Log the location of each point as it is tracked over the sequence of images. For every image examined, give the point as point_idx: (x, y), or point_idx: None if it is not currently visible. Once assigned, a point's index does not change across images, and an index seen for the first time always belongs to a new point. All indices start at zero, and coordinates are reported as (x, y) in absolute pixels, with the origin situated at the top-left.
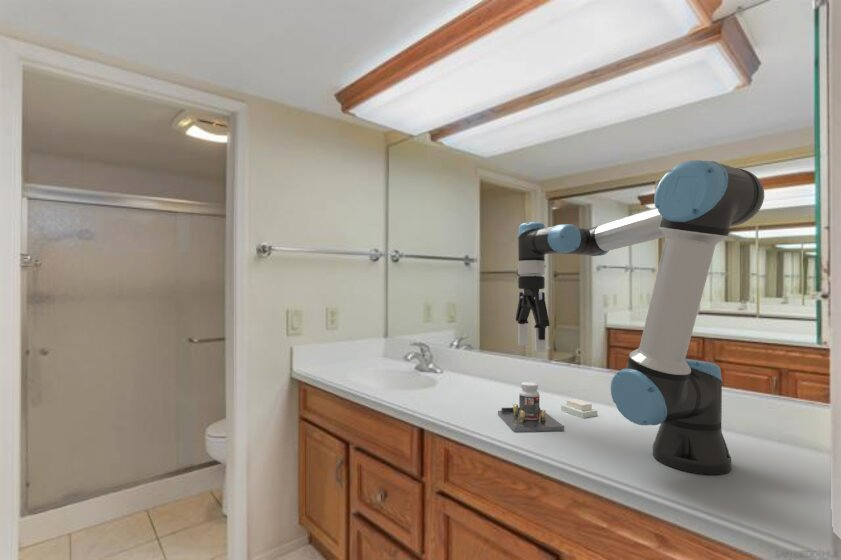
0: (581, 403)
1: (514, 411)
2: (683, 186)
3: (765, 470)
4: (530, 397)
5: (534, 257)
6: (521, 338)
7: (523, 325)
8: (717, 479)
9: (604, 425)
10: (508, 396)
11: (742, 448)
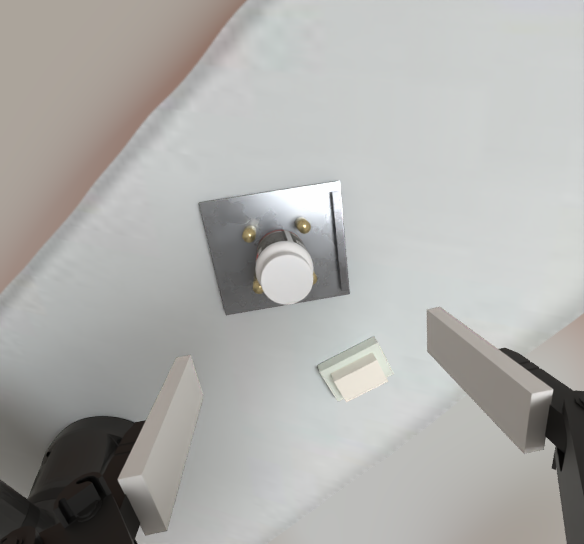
0: (349, 383)
1: (298, 220)
2: None
3: None
4: (255, 267)
5: None
6: (450, 340)
7: (516, 414)
8: None
9: (273, 390)
10: (505, 235)
11: (185, 529)
